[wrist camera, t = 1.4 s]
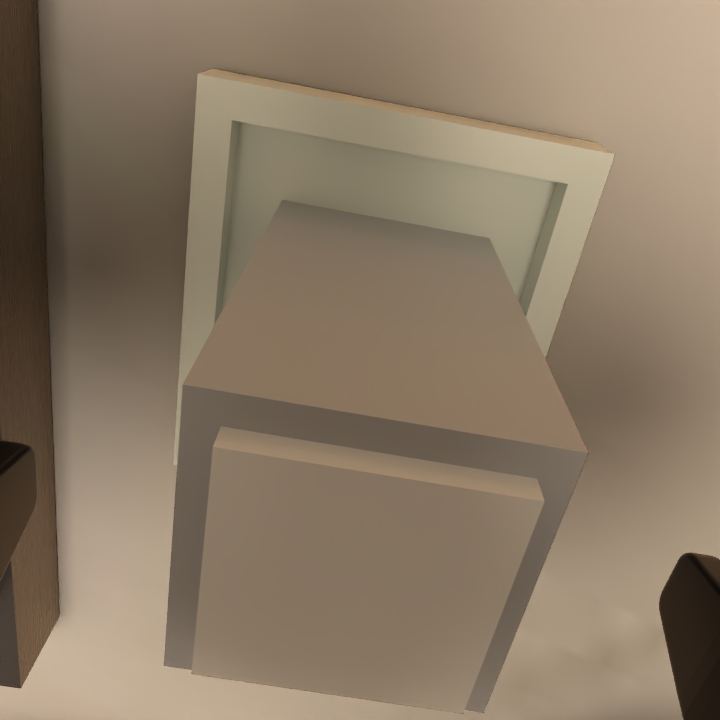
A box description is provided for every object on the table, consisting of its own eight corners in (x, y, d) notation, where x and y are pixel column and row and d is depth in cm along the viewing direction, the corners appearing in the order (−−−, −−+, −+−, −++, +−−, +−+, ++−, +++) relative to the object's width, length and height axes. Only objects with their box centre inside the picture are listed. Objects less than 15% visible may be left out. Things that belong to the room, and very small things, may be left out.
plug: (441, 413, 17) (487, 739, 9) (259, 382, 16) (155, 691, 9) (489, 238, 15) (599, 474, 7) (282, 199, 14) (172, 403, 7)
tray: (484, 485, 18) (491, 516, 17) (186, 435, 18) (173, 465, 17) (596, 142, 14) (614, 154, 13) (213, 68, 14) (197, 74, 13)
